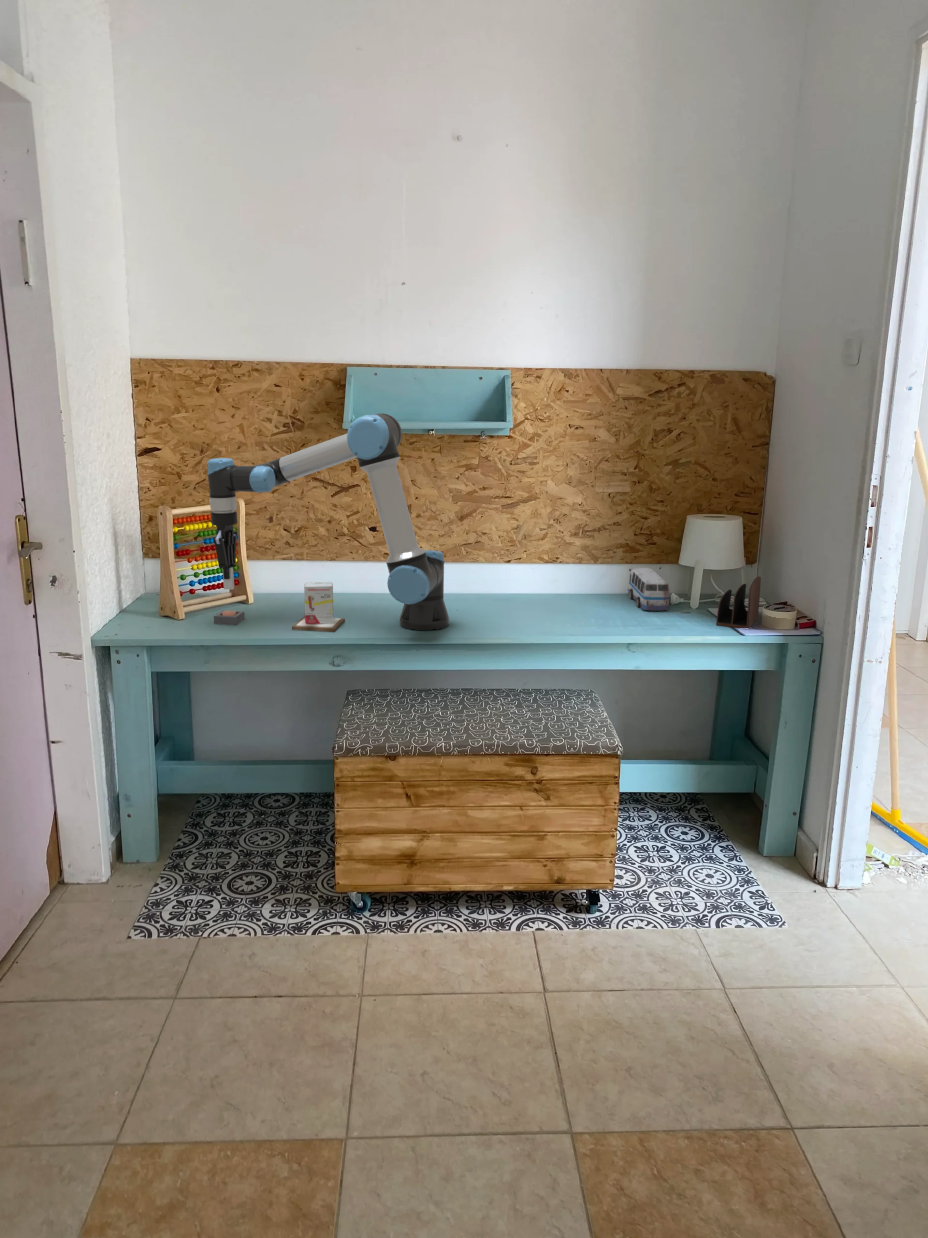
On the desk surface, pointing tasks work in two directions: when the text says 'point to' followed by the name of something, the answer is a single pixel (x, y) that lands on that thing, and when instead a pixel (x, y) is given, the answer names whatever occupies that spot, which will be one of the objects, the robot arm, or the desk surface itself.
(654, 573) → the toy bus
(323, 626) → the board
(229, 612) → the button
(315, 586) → the ink box
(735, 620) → the letter holder
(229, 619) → the button base
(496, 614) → the desk surface
